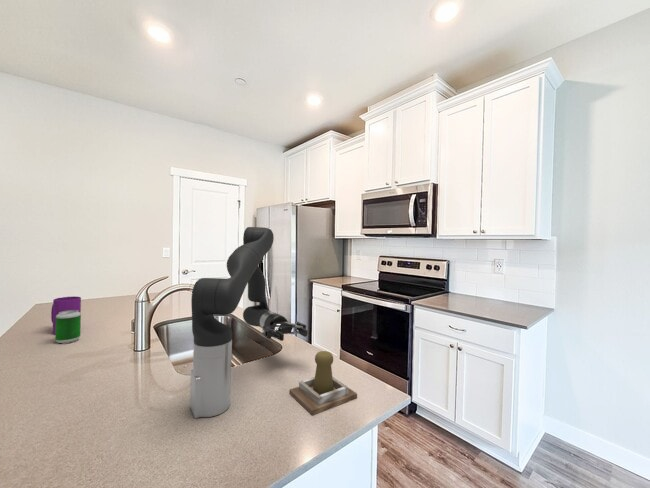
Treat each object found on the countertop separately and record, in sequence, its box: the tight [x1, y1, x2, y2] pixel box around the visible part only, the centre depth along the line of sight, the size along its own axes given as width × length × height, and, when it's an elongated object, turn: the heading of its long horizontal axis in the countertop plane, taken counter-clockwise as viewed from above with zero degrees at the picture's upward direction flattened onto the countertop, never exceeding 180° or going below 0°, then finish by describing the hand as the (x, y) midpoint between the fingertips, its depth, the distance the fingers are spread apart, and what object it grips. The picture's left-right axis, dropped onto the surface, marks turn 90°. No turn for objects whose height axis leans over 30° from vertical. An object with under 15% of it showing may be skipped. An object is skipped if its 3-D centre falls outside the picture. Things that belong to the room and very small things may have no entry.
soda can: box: [55, 310, 82, 344], centre depth 116 cm, size 8×8×12 cm
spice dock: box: [288, 376, 358, 416], centre depth 81 cm, size 15×12×3 cm
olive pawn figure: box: [313, 350, 334, 395], centre depth 81 cm, size 6×6×11 cm
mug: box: [50, 296, 82, 335], centre depth 128 cm, size 9×16×15 cm, turn 68°
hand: (294, 335), depth 91 cm, fingers open, 8 cm apart
